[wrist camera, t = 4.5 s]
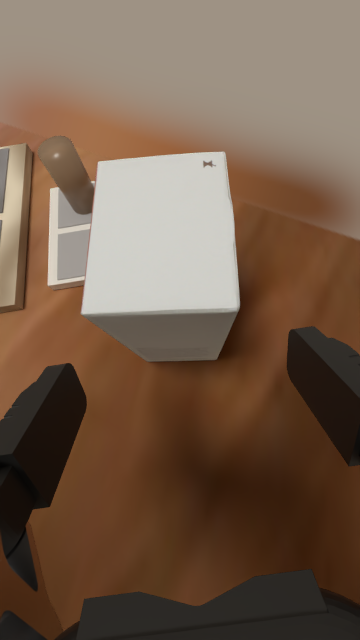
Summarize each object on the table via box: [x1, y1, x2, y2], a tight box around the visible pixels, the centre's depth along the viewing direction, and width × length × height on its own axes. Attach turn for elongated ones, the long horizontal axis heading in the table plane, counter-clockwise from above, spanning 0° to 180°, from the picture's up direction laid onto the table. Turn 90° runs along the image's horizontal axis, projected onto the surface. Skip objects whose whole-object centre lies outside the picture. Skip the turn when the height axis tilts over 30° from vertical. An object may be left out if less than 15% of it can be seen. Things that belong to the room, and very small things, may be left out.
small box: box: [81, 152, 240, 362], centre depth 17 cm, size 8×6×13 cm
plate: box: [38, 136, 95, 290], centre depth 23 cm, size 8×12×7 cm, turn 8°
